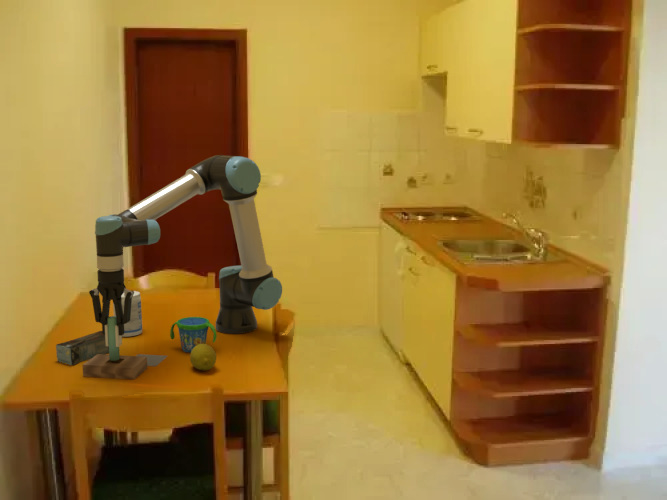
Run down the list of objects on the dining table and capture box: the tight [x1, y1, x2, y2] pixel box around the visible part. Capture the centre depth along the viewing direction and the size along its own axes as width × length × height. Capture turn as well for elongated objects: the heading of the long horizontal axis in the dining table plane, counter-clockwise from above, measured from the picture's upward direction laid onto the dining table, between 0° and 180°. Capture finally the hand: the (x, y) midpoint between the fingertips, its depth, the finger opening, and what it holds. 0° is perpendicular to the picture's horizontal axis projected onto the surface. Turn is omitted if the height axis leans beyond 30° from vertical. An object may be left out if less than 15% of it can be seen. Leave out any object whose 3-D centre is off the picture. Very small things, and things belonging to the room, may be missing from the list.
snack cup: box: [169, 316, 218, 354], centre depth 247 cm, size 16×10×10 cm
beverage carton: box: [55, 330, 109, 366], centre depth 241 cm, size 8×19×7 cm, turn 146°
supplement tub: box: [112, 290, 143, 338], centre depth 264 cm, size 10×10×15 cm
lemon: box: [189, 343, 217, 372], centre depth 229 cm, size 11×8×8 cm
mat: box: [136, 353, 168, 367], centre depth 236 cm, size 10×10×1 cm
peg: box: [107, 315, 120, 361], centre depth 223 cm, size 3×3×13 cm
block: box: [82, 354, 148, 381], centre depth 225 cm, size 16×10×4 cm, turn 81°
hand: (113, 345), depth 224 cm, fingers closed on peg, 2 cm apart
